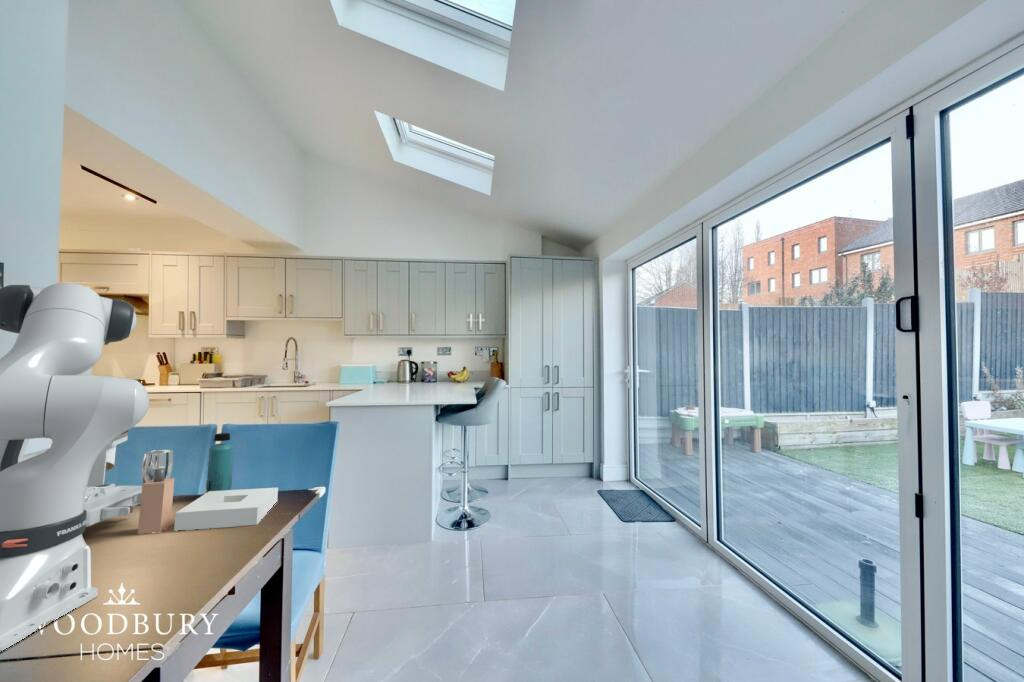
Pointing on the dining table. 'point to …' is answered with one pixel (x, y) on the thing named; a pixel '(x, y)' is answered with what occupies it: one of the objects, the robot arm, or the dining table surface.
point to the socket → (226, 509)
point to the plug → (156, 503)
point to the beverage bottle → (220, 465)
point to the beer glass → (156, 464)
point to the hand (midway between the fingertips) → (145, 503)
